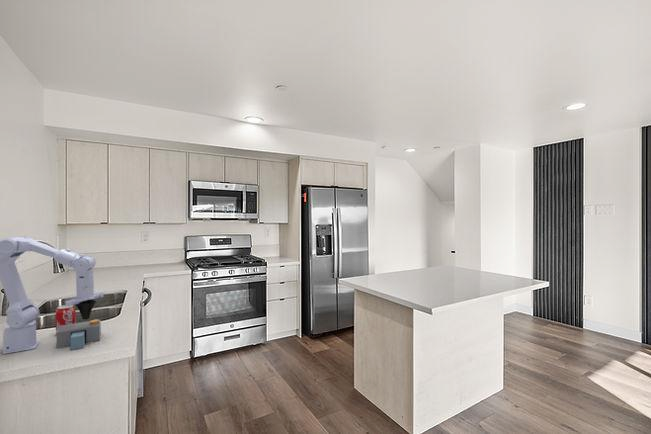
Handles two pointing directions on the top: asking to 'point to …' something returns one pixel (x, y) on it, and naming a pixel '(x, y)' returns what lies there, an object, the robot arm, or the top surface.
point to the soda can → (65, 316)
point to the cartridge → (78, 339)
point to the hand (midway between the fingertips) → (85, 318)
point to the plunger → (94, 322)
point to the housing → (67, 330)
